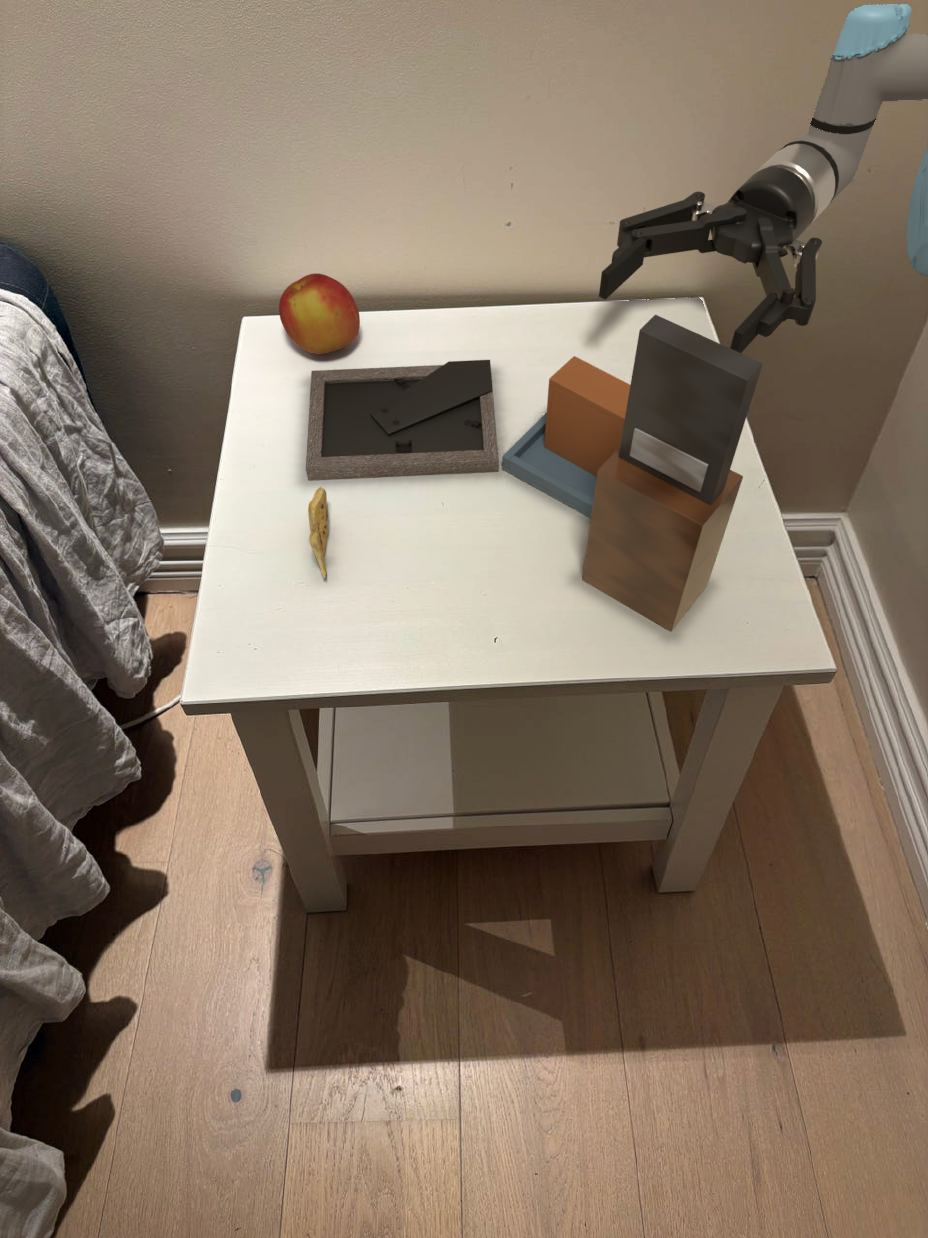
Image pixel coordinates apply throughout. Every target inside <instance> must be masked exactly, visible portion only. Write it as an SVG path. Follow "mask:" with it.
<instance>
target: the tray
mask: <svg viewBox="0 0 928 1238" xmlns="http://www.w3.org/2000/svg"><path fill="white" fill-rule="evenodd" d="M546 415H547V412H545V413H544V414H543V415H542V416H541V417H540V419H538V420H537V421H536V422H535V423H534V424H533V425H532V426H531V427H530V428H529V429H528V430H527V431H526V432H525V433H524V434H523V435H522V436H521V437H520V438H519V439H518V440H517V441H516V442H515V443H514V444H513V445H512V446H510V448H509V449H508V450H507V451H506V452H505V453H504V454H503V455H502V456H501V457H502V458H501V470H502V471H505V472H506V473H508V474H509V475H512V476H513V477H515V478H517V479H519V480H521V481H522V482H524V483H526V484H528V485H530V486H531V487H533V488H535V489H537V490H539V491H541V492H542V493H544V494H545V495H548V496H549V497H551V498H553V499H555V500H557V501H558V502H560V503H562V504H564V505H566V506H567V507H570V508H571V509H573V510H574V511H577V512H578V513H580V514H582V515H584V516H586V517H587V518H589V519H591V515H592V508H593V501H594V495H595V488H596V481H597V477H596V476H594V475H592V474H591V473H589V472H587V471H585V470H584V469H582V468H580V467H578V466H576V465H575V464H573V463H571V462H569V461H568V460H566V459H564V458H562V457H561V456H559V455H557V454H555V453H554V452H552V451H550V450H548V449H547V448H545V447H544V441H545V428H546Z"/></svg>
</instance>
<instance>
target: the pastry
mask: <svg viewBox="0 0 928 1238" xmlns="http://www.w3.org/2000/svg"><path fill="white" fill-rule="evenodd" d="M327 501H328V498H327V491H326V489H325V488H323V487H322V486H320V487H318V488H317V489H316V490H315V492H314V493H313V497H312V499H311V500H310V501H309V503H308V505H307V506H308V507H307V511H308V512H307V513H308V524H309V531H310V534H309V536H308V538H309V539H308V542H309V546H311V549H312V552H313V554H314V556H315V558H316V560H317V562H318V565H319V569H320V573H321V575H322V577H323V578H324V579H326V576H327V565H326V562H325V558H324V557H325V556H324V554H325V552H326V547H327V545H326V544H327V543H326V542H327V536H328V534H329V512H328V504H327Z"/></svg>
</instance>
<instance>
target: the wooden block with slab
mask: <svg viewBox="0 0 928 1238" xmlns="http://www.w3.org/2000/svg"><path fill="white" fill-rule="evenodd" d="M634 355H635V356H634V361H633V368H632V373H631V379H630V391H629V397H628V403H627V409H626V415H625V421H624V427H623V433H622V438H621V444H620V447H619V448H618V449H617V450H616V451H615V452H614V453H613V454H612V456H611V457H610V458H609V459H608V460H607V461H606V462H605V463H604V464H603V465H602V466H601V467H600V468H599V470H598V474H597V481H596V488H595V495H594V501H593V508H592V515H591V518H590V521H589V522H590V523H589V530H588V537H587V544H586V550H585V551H586V552H585V558H584V564H583V570H582V571H583V572H582V579H581V580H582V581H583V582H585V583H587V584H589V585H590V586H592V587H594V588H595V589H597V590H599V591H600V592H602V593H604V594H606V595H607V596H609V597H611V598H612V599H614V600H616V601H617V602H619V603H621V604H623V605H624V606H626V607H628V608H629V609H631V610H633V611H635V612H636V613H638V614H640V615H642V616H643V617H645V618H646V619H648V620H650V621H652V622H653V623H655V624H657V625H659V626H660V627H662V628H664V629H665V630H666V631H669V632H673V631H674V629H675V628H676V627H677V626H678V625H679V623H680V622H681V621H682V619H683V618H684V617H685V616H686V614H687V613H688V612H689V610H690V609H691V608H692V606H693V605H694V604H695V602H696V601H697V600H698V599H699V598H700V596H701V595H702V593H703V592H704V591H705V590H706V589H707V587H708V585H709V583H710V579H711V575H712V573H713V570H714V566H715V564H716V561H717V558H718V555H719V551H720V548H721V545H722V543H723V539H724V536H725V533H726V530H727V527H728V524H729V521H730V518H731V515H732V512H733V509H734V507H735V503H736V500H737V498H738V497H737V496H738V493H739V491H740V488H741V484H742V482H743V478H744V475H742V474H740V473H738V472H736V471H734V470H732V465H733V461H734V458H735V455H736V451H737V449H738V445H739V442H740V439H741V436H742V432H743V429H744V426H745V423H746V419H747V416H748V413H749V410H750V407H751V403H752V401H753V397H754V393H755V391H756V388H757V384H758V381H759V378H760V374H761V371H762V368H763V365H764V364H763V363H762V362H761V361H759V360H757V359H754V358H752V357H750V356H748V355H745V354H744V353H739V352H737V351H735V350H732V349H730V347H727V346H726V345H724V344H721V343H720V342H717V341H715V340H713V339H711V338H708V337H706V336H704V335H702V334H700V333H697V332H695V331H693V330H691V329H689V328H686V327H684V326H682V325H680V324H677V323H675V322H673V321H671V320H669V319H667V318H664V317H663V316H660V315H658V314H654V315H652V317H651V318H650V319H649V320H647V322H646V323H645V324H644V325H643V326H642V327H641V328H640V329H639V332H638V338H637V344H636V350H635V354H634Z"/></svg>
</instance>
